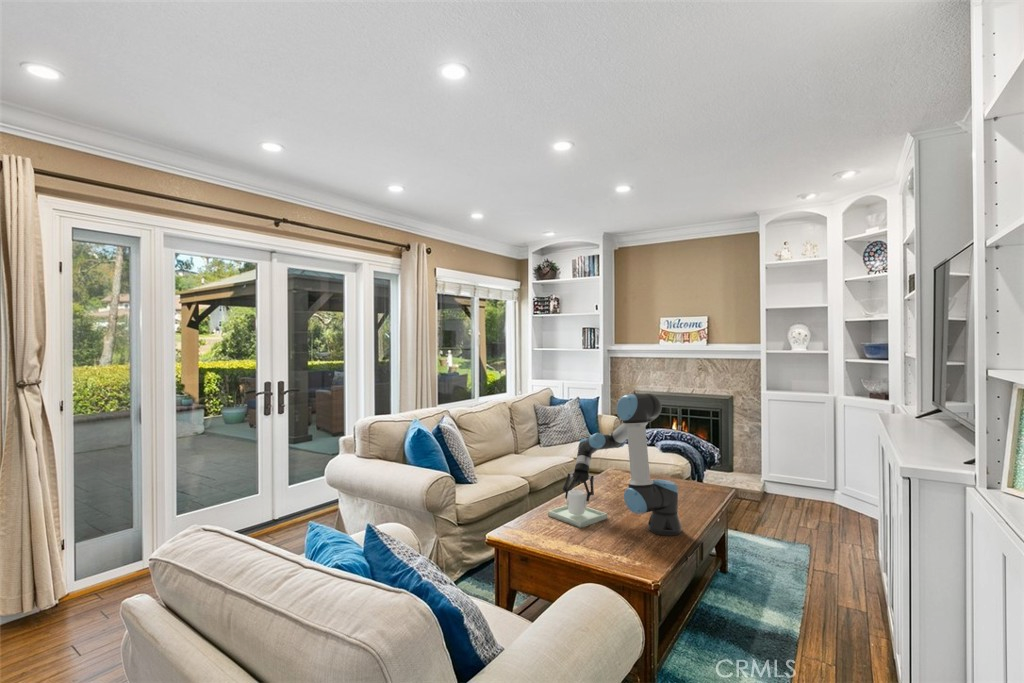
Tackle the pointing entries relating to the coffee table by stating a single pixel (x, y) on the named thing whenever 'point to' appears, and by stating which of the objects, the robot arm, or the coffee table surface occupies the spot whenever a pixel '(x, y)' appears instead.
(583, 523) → the sage tray
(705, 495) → the coffee table surface
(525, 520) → the coffee table surface
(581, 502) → the cup
